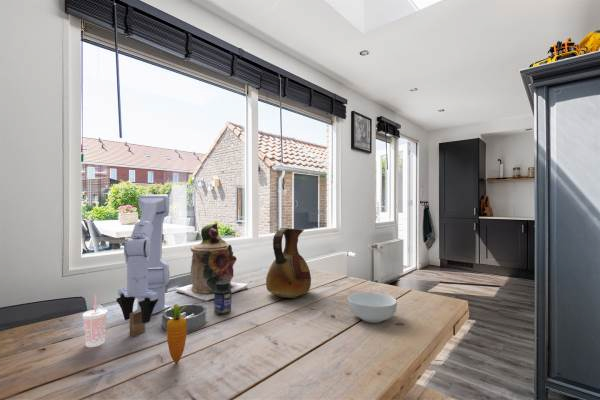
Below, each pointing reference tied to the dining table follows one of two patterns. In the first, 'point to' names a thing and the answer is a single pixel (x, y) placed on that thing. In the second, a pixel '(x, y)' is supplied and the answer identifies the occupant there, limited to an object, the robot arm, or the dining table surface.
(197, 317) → the grey ashtray
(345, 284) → the dining table surface
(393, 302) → the cereal bowl
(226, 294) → the pill bottle
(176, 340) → the carrot
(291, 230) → the ceramic pitcher
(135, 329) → the tan wooden plank
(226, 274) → the cookie jar
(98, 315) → the beverage cup
